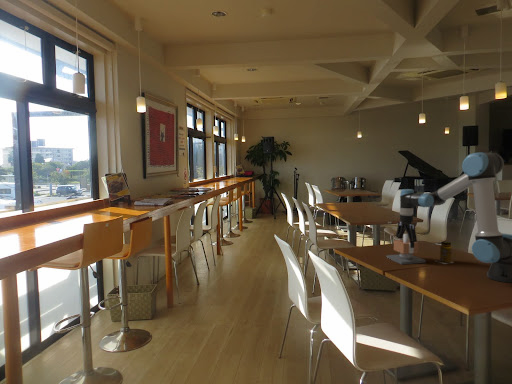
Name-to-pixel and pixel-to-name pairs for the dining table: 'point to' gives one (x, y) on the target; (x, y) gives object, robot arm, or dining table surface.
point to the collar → (404, 246)
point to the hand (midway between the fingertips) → (405, 250)
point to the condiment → (445, 253)
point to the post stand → (406, 255)
